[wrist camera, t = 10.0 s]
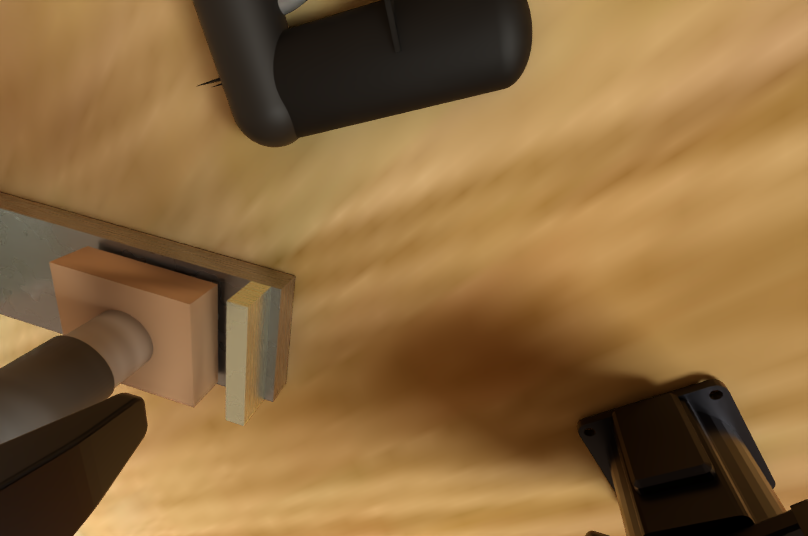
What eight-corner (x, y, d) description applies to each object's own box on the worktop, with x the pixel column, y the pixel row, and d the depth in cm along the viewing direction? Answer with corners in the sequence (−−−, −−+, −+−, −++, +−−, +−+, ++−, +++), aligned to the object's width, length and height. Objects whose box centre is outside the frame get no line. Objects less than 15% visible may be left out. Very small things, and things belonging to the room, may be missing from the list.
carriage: (217, 284, 21) (-111, 523, 10) (218, 381, 23) (-40, 654, 12) (87, 246, 21) (-350, 427, 11) (102, 344, 24) (-235, 570, 13)
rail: (296, 267, 21) (188, 365, 14) (284, 399, 25) (195, 528, 18) (-83, 160, 24) (-333, 198, 17) (-41, 294, 28) (-231, 372, 21)
